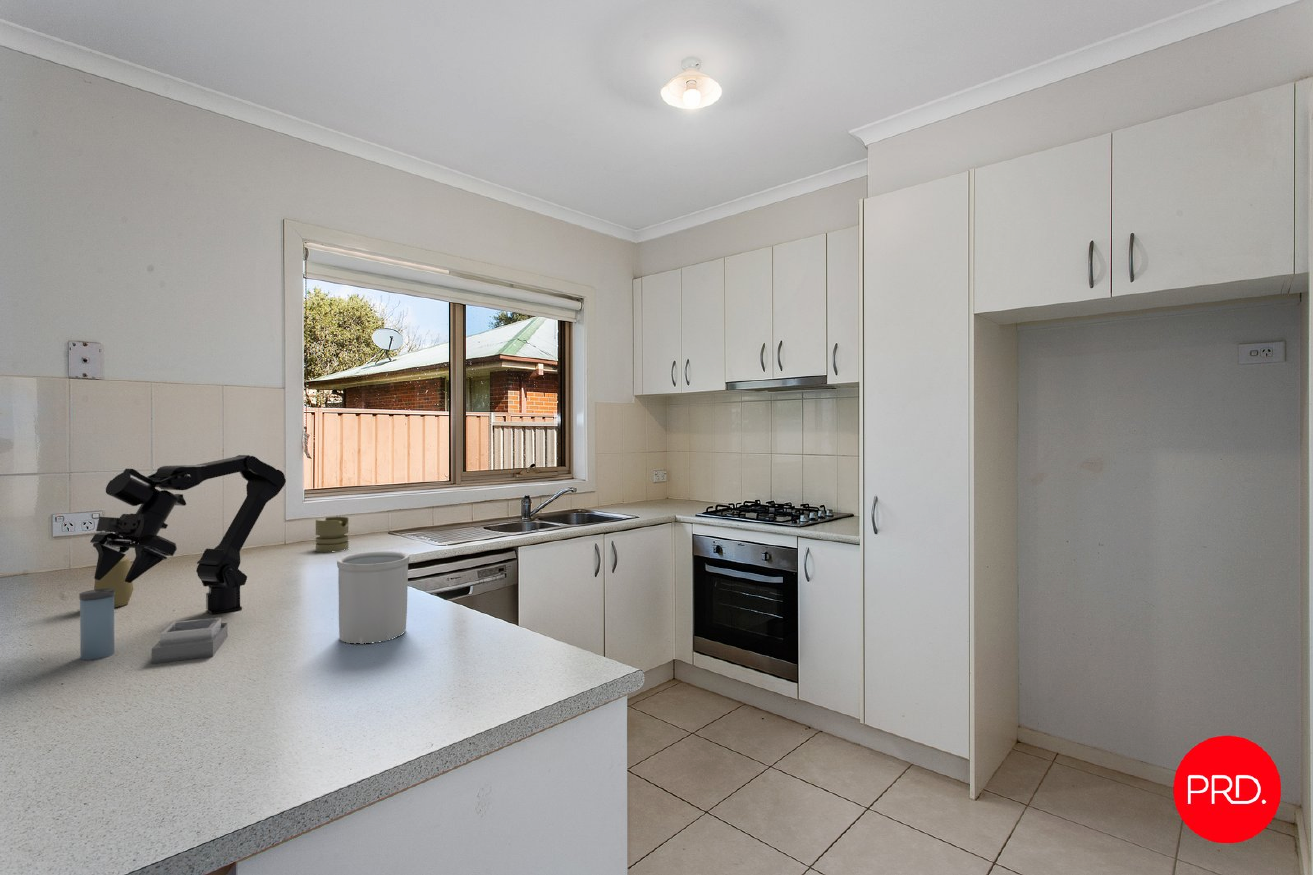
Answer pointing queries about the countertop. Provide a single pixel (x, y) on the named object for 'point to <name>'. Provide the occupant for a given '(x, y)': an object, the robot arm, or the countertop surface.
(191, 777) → the countertop surface
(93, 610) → the capped blue cylinder
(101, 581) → the squeeze bottle
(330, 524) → the piston
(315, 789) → the countertop surface
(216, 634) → the gray rectangular open-top holder
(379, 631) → the utensil holder
